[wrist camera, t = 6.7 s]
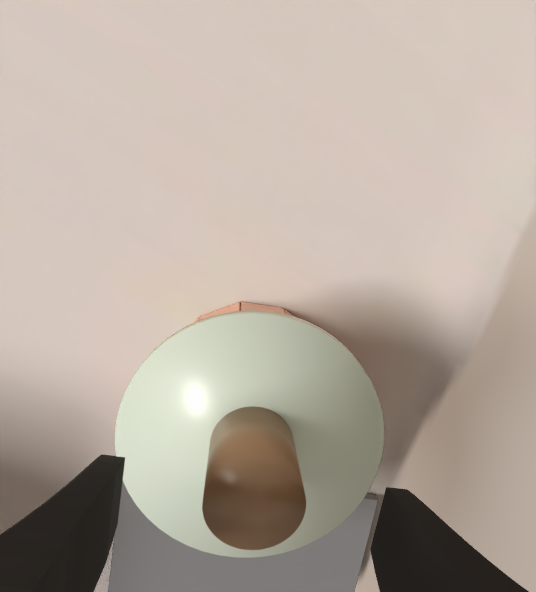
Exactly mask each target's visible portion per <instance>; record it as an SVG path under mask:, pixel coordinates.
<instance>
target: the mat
mask: <svg viewBox="0 0 536 592" xmlns="http://www.w3.org/2000/svg"><path fill="white" fill-rule="evenodd" d="M377 502H378V499H377V497H376V495H375V494H366V495H365V497H364V499H363V500H362V501H361V503H360V504H359V505H358V506H357V508H356V509H355V510H354V511H353V512H352V513H351V514H350V515H349V516H348V517H347V518H346V519H345V520H344V521H343V522H342V523H341V524H340V525H338V526H337V527H336V528H334V529H333V530H332V531H330V532H329V533H328V534H326V535H324V536H323V537H321V538H319V539H317V540H316V541H314V542H312V543H310V544H307V545H305V546H303V547H301V548H298V549H295V550H292V551H289V552H285V553H281V554H276V555H271V556H265V557H254V558H239V557H228V556H220V555H215V554H211V553H207V552H203V551H200V550H198V549H195V548H192V547H190V546H187V545H185V544H183V543H181V542H179V541H177V540H175V539H174V538H172V537H170V536H169V535H168V534H166V533H165V532H163V531H162V530H160V529H159V528H158V527H157V526H156V525H154V524H153V523H152V522H151V521H150V520H149V519H148V518H147V517H146V516H145V515H144V514H143V513H142V511H141V510H140V509H139V508H138V507H137V505H136V504H135V502H134V501H133V499H132V498H131V496H130V495H129V493H128V491H127V489H126V487H125V484H124V482H123V481H122V490H121V499H120V508H119V517H118V524H117V528H116V531H115V534H114V543H113V552H112V561H111V570H110V579H109V588H108V592H354V591H355V587H356V583H357V580H358V576H359V572H360V568H361V564H362V560H363V556H364V552H365V548H366V545H367V541H368V537H369V533H370V529H371V525H372V521H373V517H374V513H375V510H376V506H377Z"/></svg>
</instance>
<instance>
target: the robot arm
mask: <svg viewBox="0 0 536 592" xmlns="http://www.w3.org/2000/svg"><path fill="white" fill-rule="evenodd" d="M124 464H125V457H118V456H109V455H101V456H99V457H98V458H96V459H95V460H94V461H93V462H92V463H91V464H90V465H89V466H88V467H86V468H85V469H84V470H83V471H82V472H81V473H80V474H79V475H77V476H76V477H75V478H74V479H73V480H72V481H70V482H69V483H68V484H67V485H66V486H65V487H63V488H62V489H61V490H60V491H58V492H57V493H56V494H55V495H54V496H52V497H51V498H50V499H49V500H47V501H46V502H45V503H44V504H42V505H41V506H40V507H38V508H37V509H36V510H34V511H33V512H32V513H30V514H29V515H27V516H26V517H25V518H23V519H22V520H21V521H19V522H18V523H17V524H15V525H14V526H12V527H11V528H9V529H8V530H6V531H5V532H3V533H2V534H0V592H94V589H95V587H96V585H97V582H98V580H99V577H100V575H101V573H102V570H103V568H104V566H105V563H106V560H107V557H108V554H109V551H110V548H111V544H112V541H113V538H114V534H115V531H116V528H117V524H118V517H119V508H120V499H121V490H122V481H123V472H124ZM371 554H372V559H373V564H374V568H375V573H376V577H377V581H378V585H379V589H380V592H528V591H527V590H526V589H524V588H523V587H521V586H520V585H519V584H517V583H516V582H515V581H513V580H512V579H511V578H510V577H508V576H507V575H506V574H504V573H503V572H502V571H501V570H499V569H498V568H497V567H496V566H495V565H493V564H492V563H491V562H490V561H488V560H487V559H486V558H485V557H484V556H482V555H481V554H480V553H479V552H478V551H477V550H475V549H474V548H473V547H472V546H471V545H469V544H468V543H467V542H466V541H465V540H464V539H463V538H462V537H460V536H459V535H458V534H457V533H456V532H455V531H454V530H452V529H451V528H450V527H449V526H448V525H447V524H446V523H445V522H444V521H443V520H441V519H440V518H439V517H438V516H437V515H436V514H435V513H434V512H433V511H432V510H431V509H429V508H428V507H427V506H426V505H425V504H424V503H423V502H422V501H420V500H419V499H418V498H417V497H416V496H415V495H413V494H412V493H411V492H410V491H408V490H405V489H397V488H388V487H386V491H385V495H384V499H383V503H382V506H381V510H380V514H379V518H378V522H377V526H376V530H375V534H374V537H373V541H372V545H371Z"/></svg>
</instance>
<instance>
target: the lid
mask: <svg viewBox="0 0 536 592" xmlns="http://www.w3.org/2000/svg"><path fill="white" fill-rule="evenodd" d="M383 447H384V420H383V413H382V408H381V405H380V401H379V398H378V395H377V393H376V391H375V388H374V386H373V384H372V382H371V380H370V378H369V377H368V375H367V374H366V372H365V371H364V369H363V367H362V366H361V364H360V363H359V362H358V360H357V359H356V358H355V357H354V355H353V354H352V353H351V352H350V351H349V350H348V349H347V348H346V347H345V346H344V345H343V344H342V343H341V342H340V341H338V340H337V339H336V338H335V337H334V336H332V335H331V334H329V333H328V332H326V331H325V330H323V329H322V328H320V327H318V326H316V325H314V324H312V323H310V322H308V321H305V320H303V319H300V318H297V317H294V316H291V315H287V314H282V313H277V312H272V311H258V310H247V311H233V312H228V313H223V314H218V315H214V316H211V317H208V318H205V319H202V320H199V321H197V322H195V323H193V324H191V325H188V326H186V327H184V328H182V329H181V330H179V331H178V332H176V333H175V334H173V335H172V336H170V337H169V338H167V339H166V340H165V341H164V342H163V343H161V344H160V345H159V346H158V347H157V348H156V349H154V351H153V352H152V353H151V354H150V355H149V356H148V357H147V358H146V360H145V361H144V362H143V363H142V365H141V366H140V368H139V369H138V371H137V372H136V374H135V375H134V377H133V379H132V380H131V382H130V384H129V386H128V388H127V390H126V392H125V394H124V397H123V399H122V402H121V405H120V408H119V411H118V415H117V421H116V427H115V452H116V456H118V457H125V464H124V472H123V482H124V484H125V487H126V489H127V491H128V493H129V495H130V496H131V498H132V499H133V501H134V502H135V504H136V505H137V507H138V508H139V509H140V510H141V511H142V513H143V514H144V515H145V516H146V517H147V518H148V519H149V520H150V521H151V522H152V523H153V524H154V525H156V526H157V527H158V528H159V529H160V530H162V531H163V532H165V533H166V534H168V535H169V536H170V537H172V538H174V539H175V540H177V541H179V542H181V543H183V544H185V545H187V546H190V547H192V548H195V549H198V550H200V551H203V552H207V553H211V554H215V555H220V556H228V557H239V558H254V557H265V556H271V555H276V554H281V553H285V552H289V551H292V550H295V549H298V548H301V547H303V546H305V545H307V544H310V543H312V542H314V541H316V540H317V539H319V538H321V537H323V536H324V535H326V534H328V533H329V532H330V531H332V530H333V529H334V528H336V527H337V526H338V525H340V524H341V523H342V522H343V521H344V520H345V519H346V518H347V517H348V516H349V515H350V514H351V513H352V512H353V511H354V510H355V509H356V508H357V506H358V505H359V504H360V503H361V501H362V500H363V499H364V497H365V495H366V494H367V492H368V491H369V489H370V487H371V485H372V483H373V481H374V479H375V477H376V474H377V472H378V469H379V465H380V462H381V459H382V453H383Z"/></svg>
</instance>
